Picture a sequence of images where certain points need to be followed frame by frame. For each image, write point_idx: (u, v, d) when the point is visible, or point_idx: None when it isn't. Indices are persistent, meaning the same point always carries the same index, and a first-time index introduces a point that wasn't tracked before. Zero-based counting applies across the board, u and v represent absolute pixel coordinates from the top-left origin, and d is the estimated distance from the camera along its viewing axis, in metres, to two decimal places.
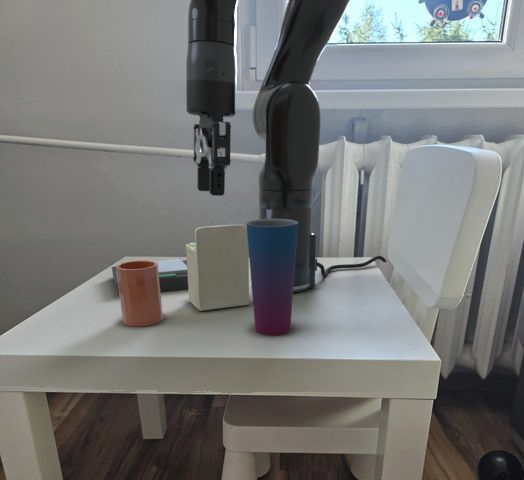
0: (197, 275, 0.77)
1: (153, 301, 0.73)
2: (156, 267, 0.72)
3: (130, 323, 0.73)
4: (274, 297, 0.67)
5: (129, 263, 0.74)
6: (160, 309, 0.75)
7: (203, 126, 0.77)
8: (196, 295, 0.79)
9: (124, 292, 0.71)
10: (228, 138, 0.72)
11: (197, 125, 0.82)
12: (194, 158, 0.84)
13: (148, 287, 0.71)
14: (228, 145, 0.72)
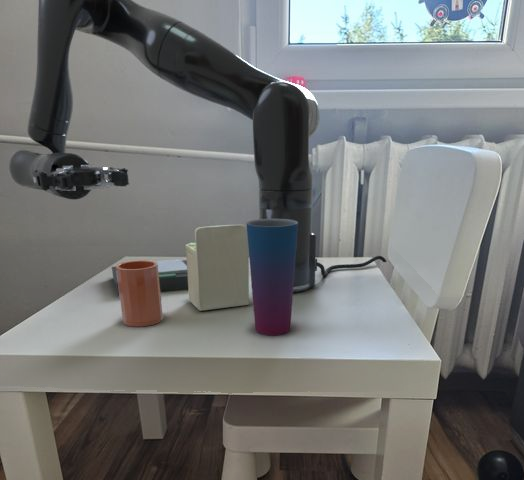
0: (197, 275, 0.77)
1: (153, 301, 0.73)
2: (156, 267, 0.72)
3: (130, 323, 0.73)
4: (274, 297, 0.67)
5: (129, 263, 0.74)
6: (160, 309, 0.75)
7: None
8: (196, 295, 0.79)
9: (124, 292, 0.71)
10: (34, 174, 0.78)
11: (109, 180, 0.87)
12: None
13: (148, 287, 0.71)
14: (36, 174, 0.77)
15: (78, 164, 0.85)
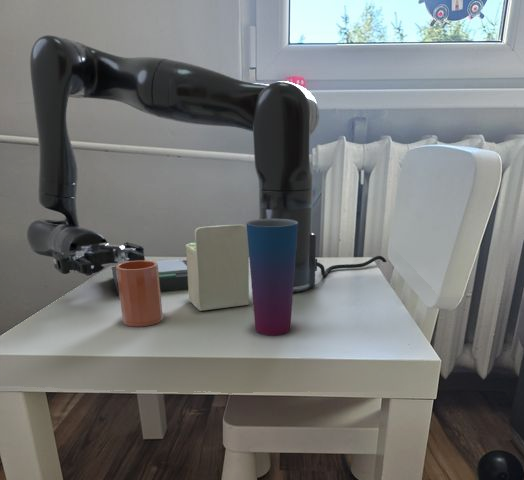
0: (197, 275, 0.77)
1: (153, 301, 0.73)
2: (156, 267, 0.72)
3: (130, 323, 0.73)
4: (274, 297, 0.67)
5: (129, 263, 0.74)
6: (160, 309, 0.75)
7: None
8: (196, 295, 0.79)
9: (124, 292, 0.71)
10: (54, 256, 0.81)
11: (125, 254, 0.90)
12: None
13: (148, 287, 0.71)
14: (56, 257, 0.80)
15: (95, 241, 0.87)
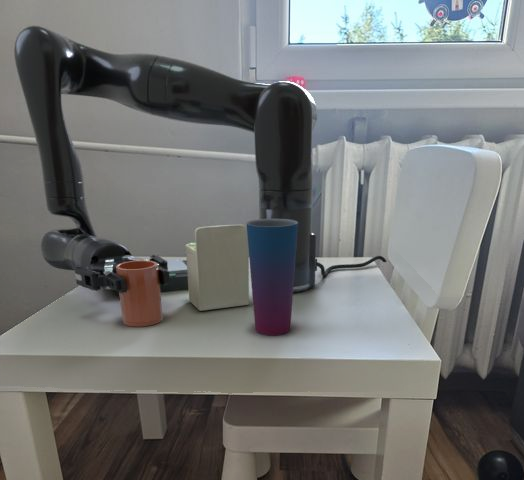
0: (197, 275, 0.77)
1: (153, 301, 0.73)
2: (156, 267, 0.72)
3: (130, 323, 0.73)
4: (274, 297, 0.67)
5: (129, 263, 0.74)
6: (160, 309, 0.75)
7: None
8: (196, 295, 0.79)
9: (124, 292, 0.71)
10: (80, 272, 0.73)
11: None
12: None
13: (148, 287, 0.71)
14: (83, 273, 0.73)
15: (118, 253, 0.80)
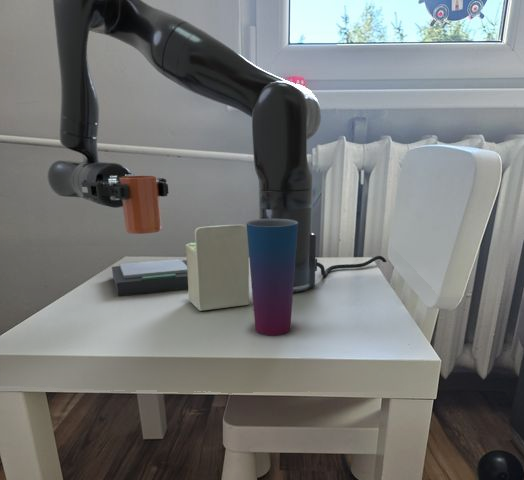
0: (197, 275, 0.77)
1: (153, 211, 0.80)
2: (156, 178, 0.79)
3: (132, 230, 0.80)
4: (274, 297, 0.67)
5: (131, 177, 0.81)
6: (160, 219, 0.82)
7: None
8: (196, 295, 0.79)
9: (127, 200, 0.79)
10: (86, 184, 0.80)
11: None
12: None
13: (149, 196, 0.79)
14: (89, 184, 0.80)
15: (121, 173, 0.87)
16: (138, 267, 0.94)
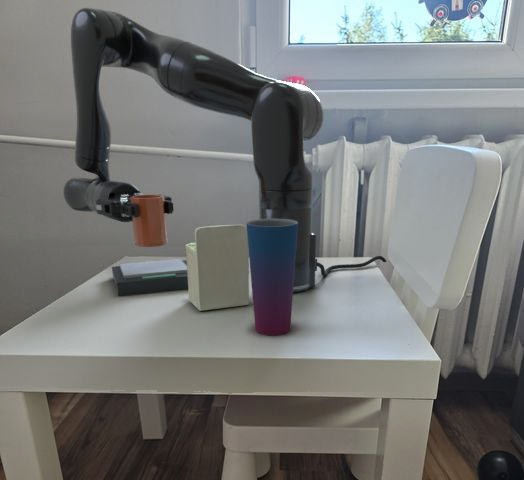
0: (197, 275, 0.77)
1: (160, 226, 0.90)
2: (162, 198, 0.89)
3: (141, 244, 0.90)
4: (274, 297, 0.67)
5: (140, 196, 0.91)
6: (165, 234, 0.91)
7: None
8: (196, 295, 0.79)
9: (137, 218, 0.88)
10: (100, 202, 0.90)
11: None
12: None
13: (156, 214, 0.88)
14: (103, 203, 0.90)
15: (131, 192, 0.97)
16: (138, 267, 0.94)
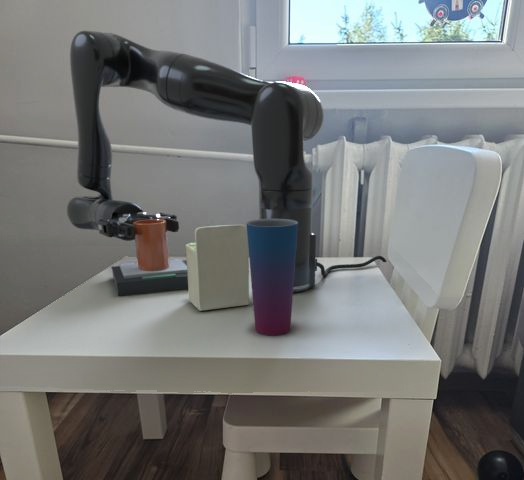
0: (197, 275, 0.77)
1: (162, 251, 0.91)
2: (165, 223, 0.91)
3: (144, 268, 0.92)
4: (274, 297, 0.67)
5: (143, 221, 0.93)
6: (168, 258, 0.93)
7: None
8: (196, 295, 0.79)
9: (139, 243, 0.90)
10: (100, 223, 0.92)
11: None
12: None
13: (158, 239, 0.90)
14: (102, 223, 0.91)
15: (133, 211, 0.98)
16: None
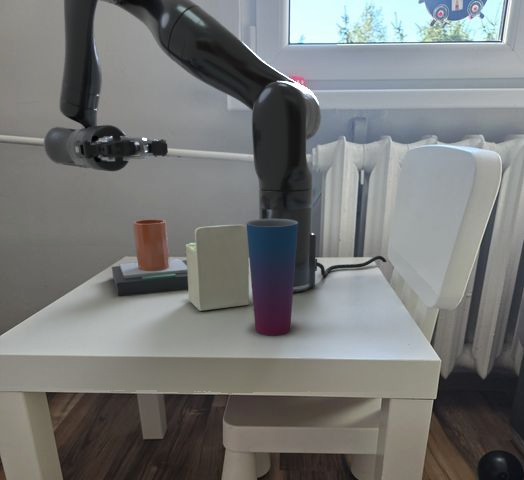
0: (197, 275, 0.77)
1: (162, 251, 0.91)
2: (165, 223, 0.91)
3: (144, 268, 0.92)
4: (274, 297, 0.67)
5: (143, 221, 0.93)
6: (168, 258, 0.93)
7: None
8: (196, 295, 0.79)
9: (139, 243, 0.90)
10: (77, 143, 0.80)
11: None
12: None
13: (158, 239, 0.90)
14: (79, 143, 0.79)
15: (117, 136, 0.86)
16: None
